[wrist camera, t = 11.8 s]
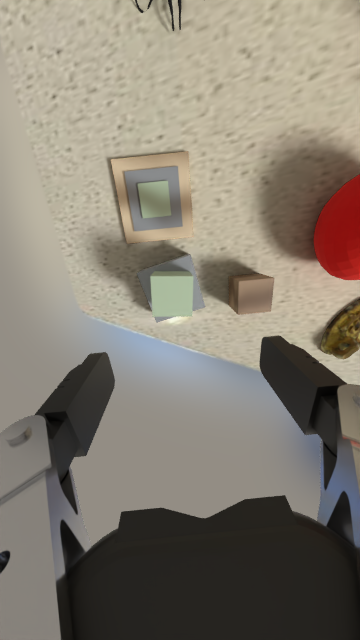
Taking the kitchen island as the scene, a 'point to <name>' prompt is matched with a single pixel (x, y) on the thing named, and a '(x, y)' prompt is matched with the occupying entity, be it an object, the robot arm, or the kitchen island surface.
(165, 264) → the grey base block
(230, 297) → the walnut block
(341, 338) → the stuffed eggplant half
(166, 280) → the sage block
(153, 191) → the tile
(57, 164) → the kitchen island surface
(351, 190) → the tomato
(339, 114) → the kitchen island surface
